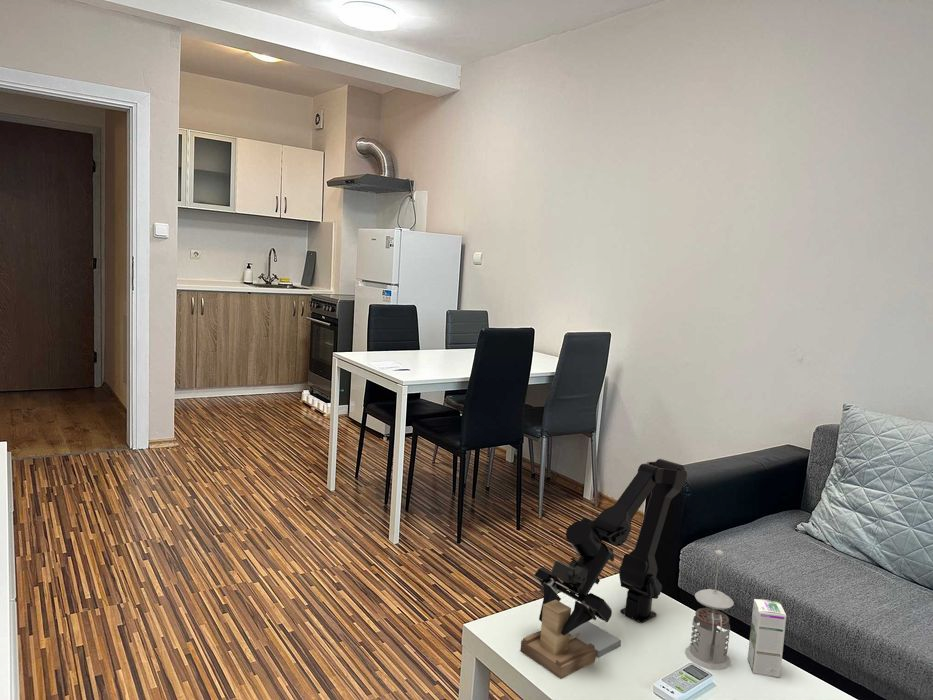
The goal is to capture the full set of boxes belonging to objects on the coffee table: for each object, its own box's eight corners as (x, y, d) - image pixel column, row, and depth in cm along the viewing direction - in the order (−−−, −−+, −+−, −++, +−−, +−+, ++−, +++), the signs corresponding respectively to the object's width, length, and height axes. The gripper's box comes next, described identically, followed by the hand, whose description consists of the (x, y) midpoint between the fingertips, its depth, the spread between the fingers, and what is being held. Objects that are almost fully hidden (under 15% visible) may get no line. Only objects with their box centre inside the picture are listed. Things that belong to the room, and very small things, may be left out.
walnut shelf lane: (554, 635, 155) (555, 622, 154) (595, 661, 146) (596, 646, 145) (520, 651, 148) (521, 637, 147) (560, 678, 139) (562, 663, 138)
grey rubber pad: (583, 624, 161) (583, 618, 160) (620, 646, 152) (621, 639, 152) (560, 634, 155) (561, 628, 155) (597, 657, 147) (598, 651, 147)
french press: (727, 648, 154) (739, 544, 151) (736, 678, 143) (749, 566, 139) (682, 641, 156) (693, 538, 153) (688, 670, 144) (700, 559, 141)
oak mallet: (570, 631, 152) (573, 592, 151) (585, 640, 149) (589, 600, 148) (539, 645, 146) (543, 604, 145) (555, 655, 143) (558, 613, 141)
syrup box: (780, 678, 143) (788, 614, 142) (751, 673, 145) (759, 610, 143) (774, 663, 149) (781, 601, 147) (745, 658, 150) (753, 597, 148)
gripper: (542, 533, 152) (503, 591, 147) (608, 563, 138) (567, 630, 133) (563, 557, 158) (526, 615, 153) (628, 589, 144) (590, 654, 139)
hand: (551, 627), depth 144 cm, fingers open, 6 cm apart
